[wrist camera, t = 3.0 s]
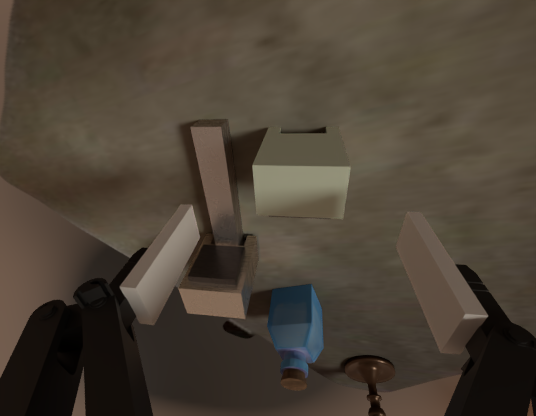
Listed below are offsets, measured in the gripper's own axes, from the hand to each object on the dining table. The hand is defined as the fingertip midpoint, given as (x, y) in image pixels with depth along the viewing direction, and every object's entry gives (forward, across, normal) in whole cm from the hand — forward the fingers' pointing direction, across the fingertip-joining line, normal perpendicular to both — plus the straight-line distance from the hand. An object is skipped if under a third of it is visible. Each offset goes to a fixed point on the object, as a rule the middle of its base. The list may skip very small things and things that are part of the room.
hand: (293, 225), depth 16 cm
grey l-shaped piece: (+13, -9, -8) cm, 17 cm away
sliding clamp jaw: (+13, 0, 0) cm, 13 cm away
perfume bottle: (+13, 0, -25) cm, 28 cm away
